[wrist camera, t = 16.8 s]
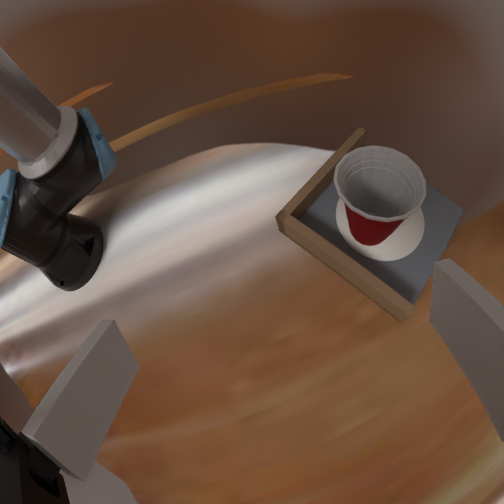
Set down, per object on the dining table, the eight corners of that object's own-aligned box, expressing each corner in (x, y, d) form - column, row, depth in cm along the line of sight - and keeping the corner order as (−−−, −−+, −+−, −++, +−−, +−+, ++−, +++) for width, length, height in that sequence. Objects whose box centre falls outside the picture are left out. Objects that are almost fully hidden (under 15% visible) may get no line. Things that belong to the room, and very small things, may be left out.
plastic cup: (363, 183, 42) (372, 128, 31) (415, 228, 37) (442, 180, 26) (315, 226, 41) (312, 175, 30) (370, 278, 36) (390, 241, 25)
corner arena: (279, 230, 43) (275, 216, 39) (357, 144, 46) (359, 126, 42) (400, 322, 34) (410, 316, 30) (462, 211, 37) (472, 197, 33)
